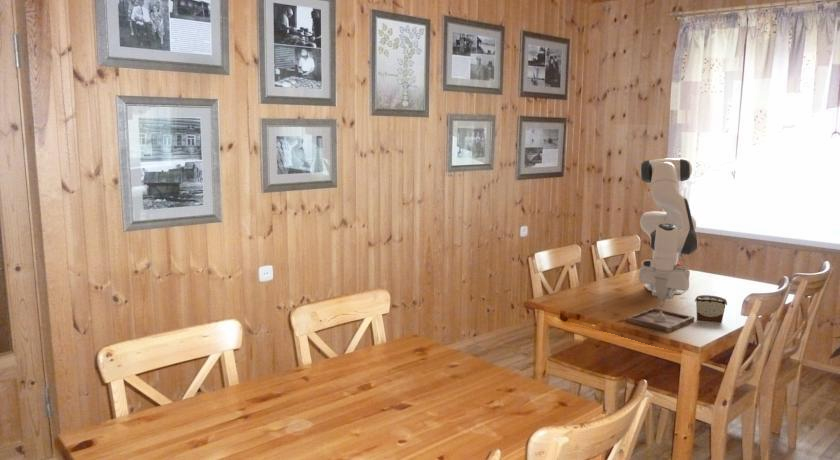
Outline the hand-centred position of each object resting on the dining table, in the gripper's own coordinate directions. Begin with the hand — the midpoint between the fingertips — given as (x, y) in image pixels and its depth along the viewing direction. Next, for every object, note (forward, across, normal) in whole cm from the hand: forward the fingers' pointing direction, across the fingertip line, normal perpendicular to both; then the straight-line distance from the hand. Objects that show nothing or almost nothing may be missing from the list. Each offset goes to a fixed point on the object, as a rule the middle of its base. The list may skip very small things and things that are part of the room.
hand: (662, 296), depth 256 cm
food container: (+11, -12, -18) cm, 24 cm away
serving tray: (+11, 0, 0) cm, 11 cm away
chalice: (+10, 0, 0) cm, 10 cm away
